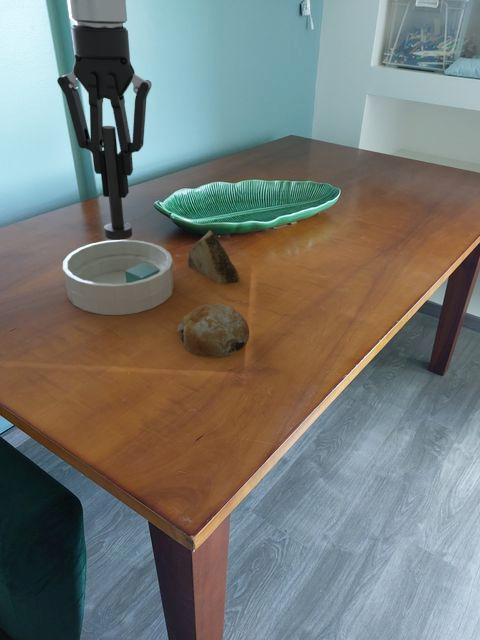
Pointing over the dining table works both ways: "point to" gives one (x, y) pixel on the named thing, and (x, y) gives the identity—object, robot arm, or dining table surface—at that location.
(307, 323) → the dining table surface
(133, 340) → the dining table surface
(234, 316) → the bread roll
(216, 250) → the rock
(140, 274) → the block
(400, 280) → the dining table surface
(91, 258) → the bowl
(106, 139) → the stirrer
